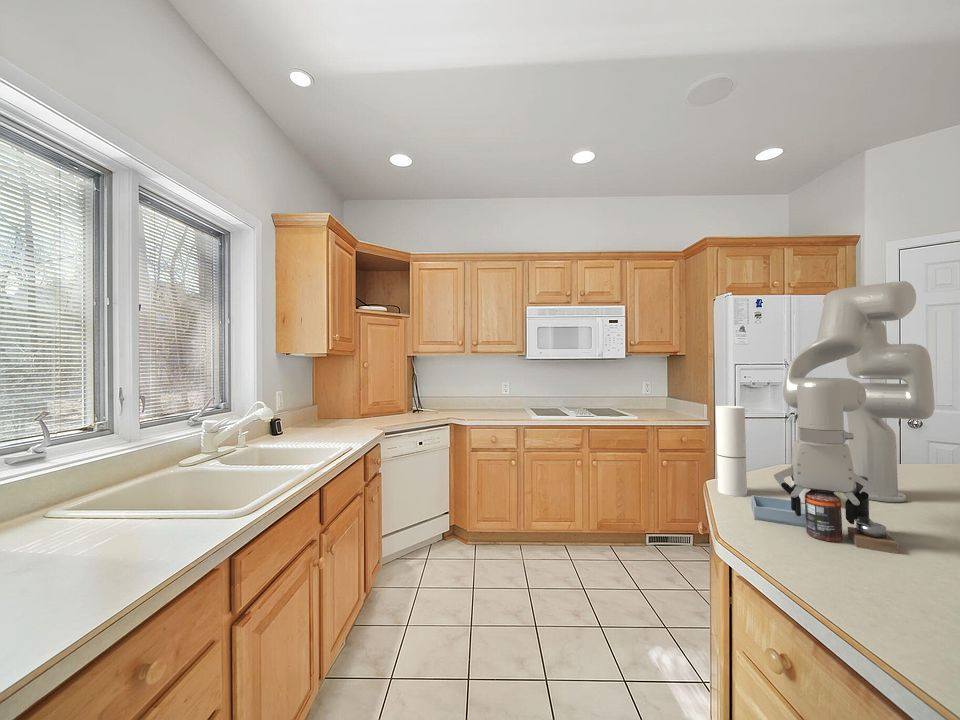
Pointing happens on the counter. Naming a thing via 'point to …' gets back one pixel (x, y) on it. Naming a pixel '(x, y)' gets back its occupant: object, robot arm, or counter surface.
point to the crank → (867, 517)
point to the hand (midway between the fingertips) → (823, 517)
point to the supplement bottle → (823, 515)
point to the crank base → (872, 541)
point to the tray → (776, 511)
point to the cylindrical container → (731, 450)
